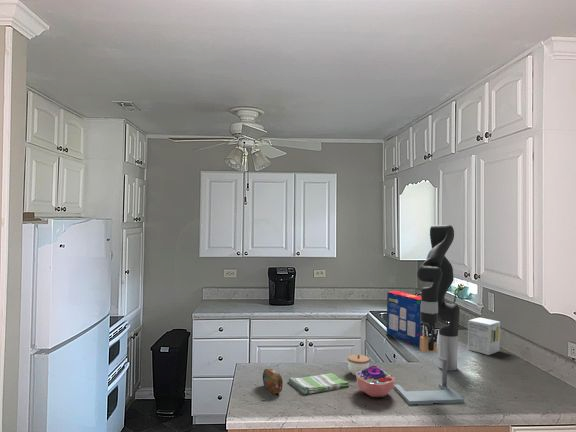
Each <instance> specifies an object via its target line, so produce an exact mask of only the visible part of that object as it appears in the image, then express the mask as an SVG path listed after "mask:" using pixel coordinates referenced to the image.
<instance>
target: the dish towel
mask: <svg viewBox="0 0 576 432" xmlns="http://www.w3.org/2000/svg"><path fill="white" fill-rule="evenodd" d="M288 383H289V384H290V385H291V384H292V386H293V387H294V388H296V389H297V390H298V391H299V392H300V393H302V394H303V395H309V394H317V393H323V392H329V391H335V390H341V389H346V388H349V386H350V385H349V382H348V381H346V380H343V379H342V378H339V377H338V376H337V375H336V374H335V373H332V372H330V373H324V374H323V373H322V374H317V375H312V376H310V375H309V376H303V377H293V376H292V377H290V378H288Z"/></svg>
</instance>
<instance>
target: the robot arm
mask: <svg viewBox="0 0 576 432" xmlns="http://www.w3.org/2000/svg"><path fill="white" fill-rule="evenodd" d="M429 237H430V239H429V240H430V245H431V249H430V250H429V252H428V254H427V257H426V260H424V262H423V263H421V265H420V266H419V268H418V269H417V274H416V275H417V278H418V280H419V281H421V282H424V283H425V282H426V283H432V285H431V286H423V287H422V289H421V296H420V297H421V309H420V320H421V321H422V322H423V323H420V331H421V336H427V337H428V341H429V342H428V350H429V351H433V350H434V342H437V343H438V346H437V353H438V355H437V366H438V368H439V369H442V365H443V361H441V360H440V359H439V357H441V358H443V359H447V371H456V370H458V347H459V346H458V344H459V343H458V341H459V337H458V336H459V329H460V328H459V325H460V314H461V313H460V307H459V305H458V304H455V303H450V302H446V301H445V298H446V297H445V296H446V294H447V292H448V290H449V289H450V287H451V286H452V284H453V283H454V279H455V278H454V268H453V265H452V263H451V262H450V261H449V260H448V258H447V257H446V253H447V252H448V250H449V249H450V247H451V245H452V244H453V241H454V239H455V230H454V227H453V226H452V225H450V224H432V225H430V228H429ZM438 321H445V322H449V325H446V326H441V327H439V328H438V329H436V326H435V324H436V323H437V322H438ZM430 337H431V339H430Z"/></svg>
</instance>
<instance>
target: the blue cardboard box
mask: <svg viewBox="0 0 576 432" xmlns="http://www.w3.org/2000/svg"><path fill="white" fill-rule="evenodd" d="M386 295H387V297H386V300H387V301H386V336H389V337H391V338H392V337H393V338H395V339H398V340H400V341H403V342H405V343H409V344H412V345H414V346H417V347H420V336H421V331H420V323H423V322H422V321H421V320H420V309H421V296H420V295H414V294H412V293H406V292H403V291H402V292H401V291H398V290H394V291H393V290H392V291H387V293H386Z"/></svg>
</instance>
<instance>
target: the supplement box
mask: <svg viewBox="0 0 576 432" xmlns="http://www.w3.org/2000/svg"><path fill="white" fill-rule="evenodd" d="M467 321H468V322H467V324H468V325H467V350H468V351H472V352H476V353H479V354H483V355H487V356H490V355H493V354H496V353H498V352H500V346H501V345H500V343H501V342H500V341H501V339H500V338H501V321H498V320H496V319H495V320H494V319H490V318H484V317H477V318H476V317H475V318H472V319H469V320H467Z"/></svg>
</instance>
